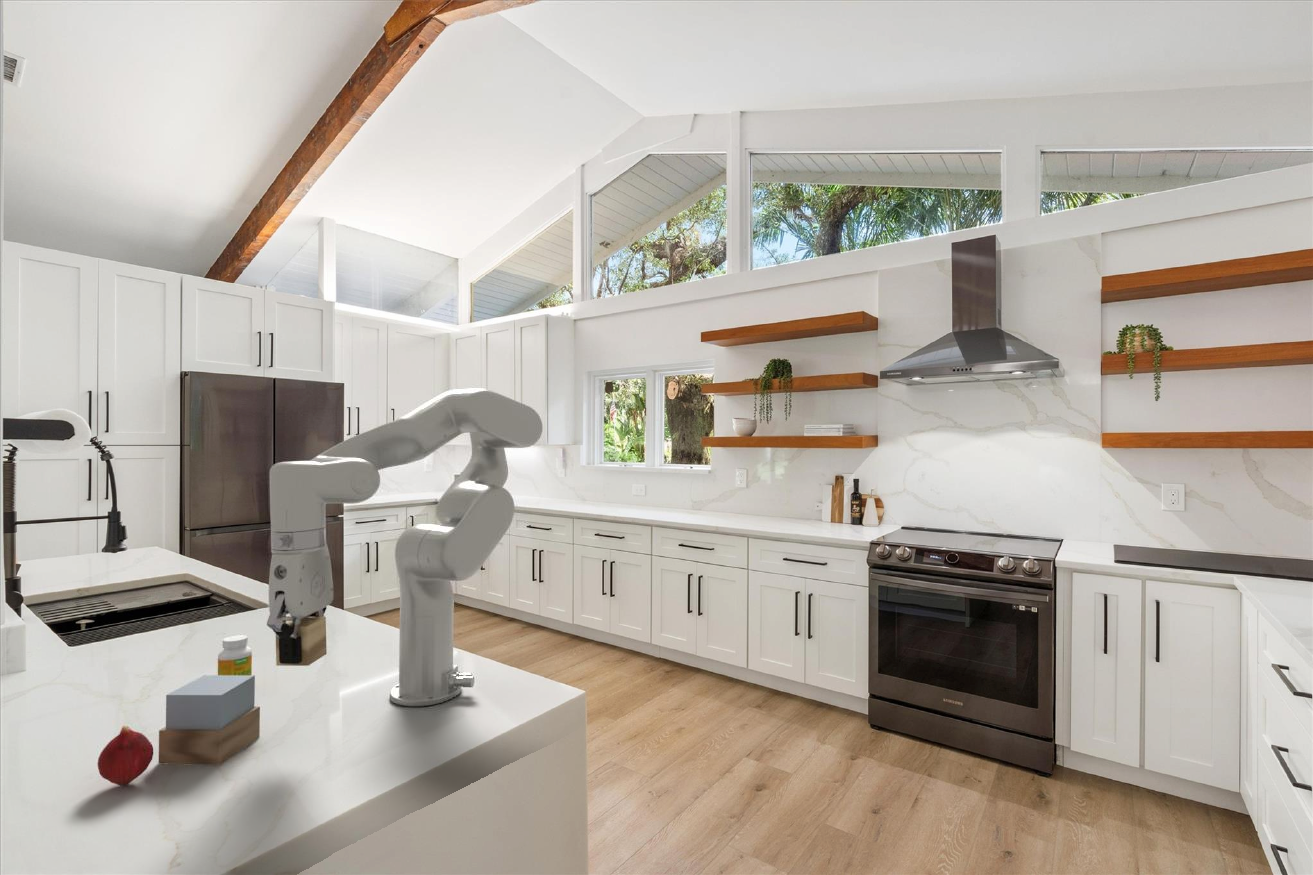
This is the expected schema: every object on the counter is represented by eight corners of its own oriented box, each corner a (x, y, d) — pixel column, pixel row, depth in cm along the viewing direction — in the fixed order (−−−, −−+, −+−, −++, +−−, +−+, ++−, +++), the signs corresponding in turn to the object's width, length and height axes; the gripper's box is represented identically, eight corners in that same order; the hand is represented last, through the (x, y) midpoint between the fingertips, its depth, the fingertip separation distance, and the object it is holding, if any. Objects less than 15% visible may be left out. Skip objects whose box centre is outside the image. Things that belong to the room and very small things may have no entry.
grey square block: (254, 706, 102) (254, 675, 102) (220, 729, 94) (221, 695, 94) (203, 706, 102) (204, 675, 102) (165, 729, 94) (166, 694, 94)
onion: (163, 773, 90) (163, 716, 90) (130, 796, 84) (131, 735, 85) (120, 774, 90) (121, 717, 90) (85, 796, 84) (86, 735, 84)
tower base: (259, 738, 102) (259, 706, 102) (218, 766, 93) (218, 731, 93) (204, 736, 102) (205, 705, 102) (158, 764, 93) (159, 730, 93)
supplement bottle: (234, 696, 118) (235, 643, 118) (210, 693, 119) (210, 641, 119) (258, 685, 123) (258, 634, 124) (234, 683, 124) (235, 633, 125)
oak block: (326, 653, 102) (325, 616, 102) (308, 665, 97) (307, 626, 97) (296, 653, 103) (295, 616, 103) (276, 665, 98) (275, 626, 98)
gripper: (288, 551, 91) (291, 677, 91) (351, 531, 108) (353, 638, 108) (237, 551, 91) (241, 677, 92) (307, 531, 108) (310, 638, 109)
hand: (302, 654), depth 100 cm, fingers closed on oak block, 5 cm apart
